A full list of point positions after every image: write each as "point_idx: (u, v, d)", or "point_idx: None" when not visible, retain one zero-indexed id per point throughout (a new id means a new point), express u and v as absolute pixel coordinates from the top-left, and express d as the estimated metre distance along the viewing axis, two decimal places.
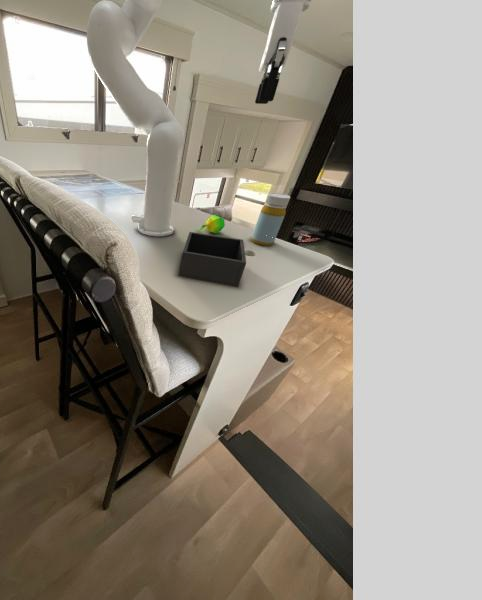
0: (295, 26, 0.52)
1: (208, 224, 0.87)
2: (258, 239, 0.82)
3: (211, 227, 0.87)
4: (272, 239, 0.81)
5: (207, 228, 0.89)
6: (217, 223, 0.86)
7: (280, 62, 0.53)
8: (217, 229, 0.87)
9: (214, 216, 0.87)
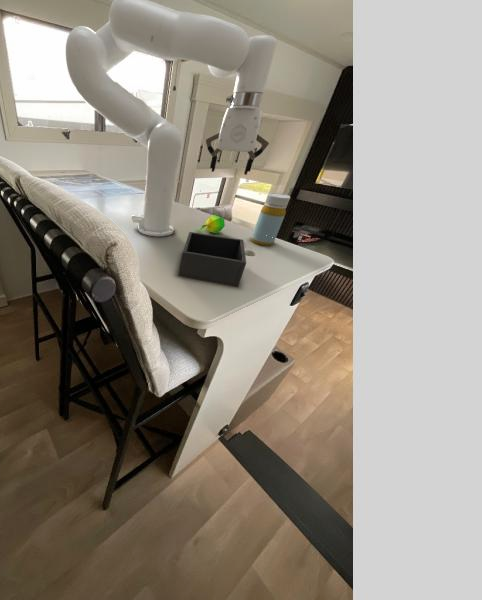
0: None
1: (208, 224, 0.87)
2: (258, 239, 0.82)
3: (211, 227, 0.87)
4: (272, 239, 0.81)
5: (207, 228, 0.89)
6: (217, 223, 0.86)
7: None
8: (217, 229, 0.87)
9: (214, 216, 0.87)
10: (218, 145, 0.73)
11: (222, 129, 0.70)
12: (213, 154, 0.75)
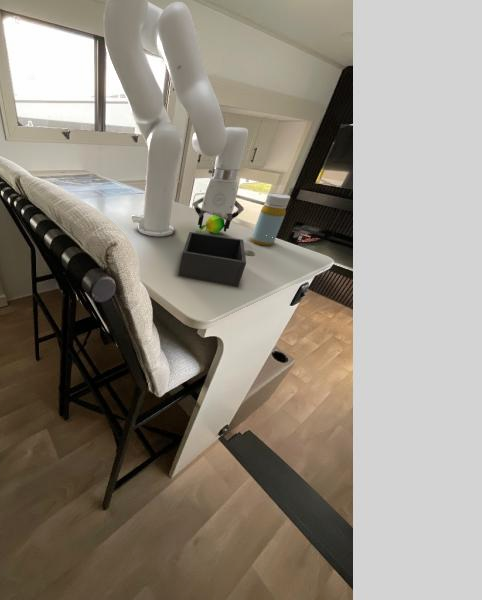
0: None
1: (208, 224, 0.87)
2: (258, 239, 0.82)
3: (211, 227, 0.87)
4: (272, 239, 0.81)
5: (207, 228, 0.89)
6: (217, 223, 0.86)
7: None
8: (217, 229, 0.87)
9: (214, 216, 0.88)
10: (202, 207, 0.84)
11: (205, 195, 0.82)
12: (200, 214, 0.87)
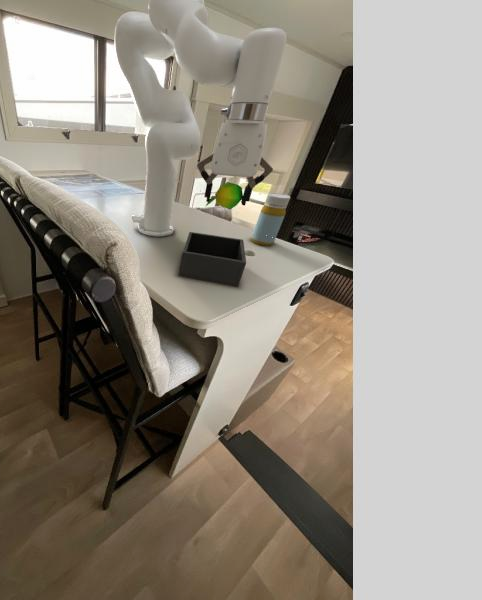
0: None
1: (220, 195, 0.61)
2: (258, 239, 0.82)
3: (224, 199, 0.60)
4: (272, 239, 0.81)
5: (218, 201, 0.62)
6: (233, 193, 0.60)
7: None
8: (233, 202, 0.61)
9: (228, 183, 0.61)
10: (212, 168, 0.57)
11: (217, 149, 0.55)
12: (208, 181, 0.60)
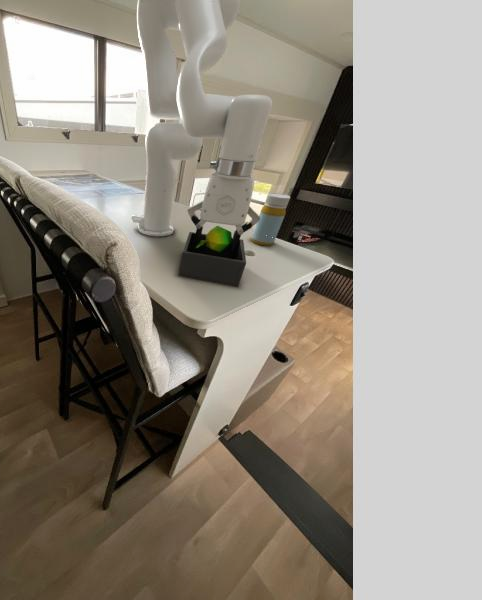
0: None
1: (209, 239, 0.62)
2: (258, 239, 0.82)
3: (213, 243, 0.62)
4: (272, 239, 0.81)
5: (208, 244, 0.64)
6: (222, 238, 0.61)
7: None
8: (222, 246, 0.62)
9: (218, 228, 0.62)
10: (201, 216, 0.59)
11: (206, 199, 0.57)
12: (198, 226, 0.62)
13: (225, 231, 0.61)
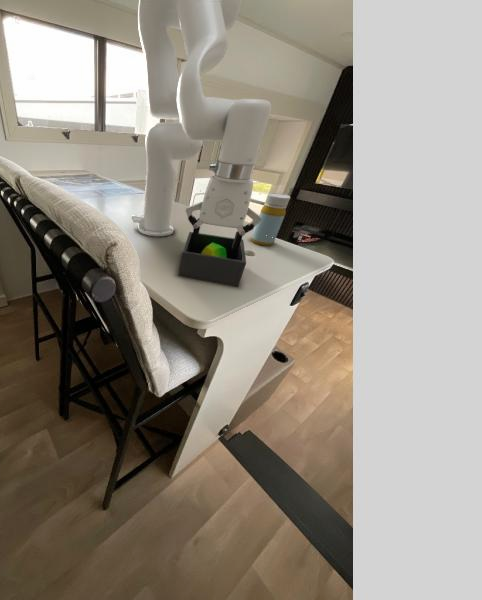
0: None
1: None
2: (258, 239, 0.82)
3: None
4: (272, 239, 0.81)
5: None
6: (216, 255, 0.64)
7: None
8: None
9: (213, 244, 0.65)
10: (200, 218, 0.59)
11: (205, 201, 0.57)
12: (195, 226, 0.62)
13: (220, 248, 0.64)
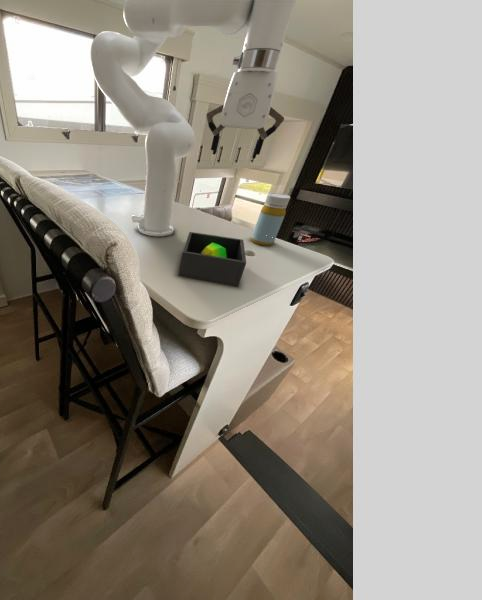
0: None
1: None
2: (258, 239, 0.82)
3: None
4: (272, 239, 0.81)
5: None
6: (216, 255, 0.64)
7: None
8: None
9: (213, 244, 0.65)
10: (221, 120, 0.59)
11: (227, 99, 0.57)
12: (215, 132, 0.62)
13: (220, 248, 0.64)
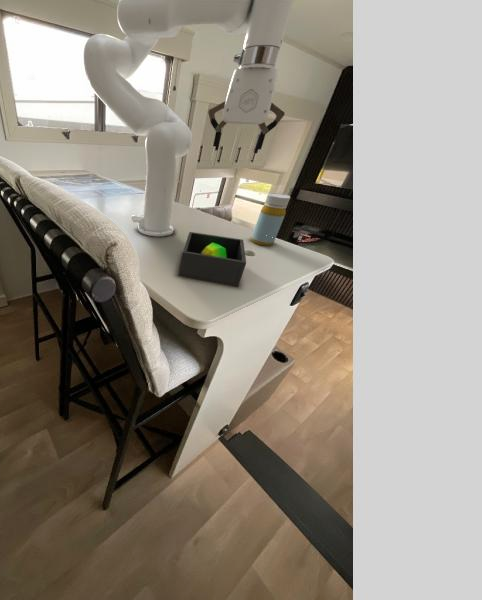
0: None
1: None
2: (258, 239, 0.82)
3: None
4: (272, 239, 0.81)
5: None
6: (216, 255, 0.64)
7: None
8: None
9: (213, 244, 0.65)
10: (224, 116, 0.60)
11: (229, 96, 0.58)
12: (217, 128, 0.63)
13: (220, 248, 0.64)
